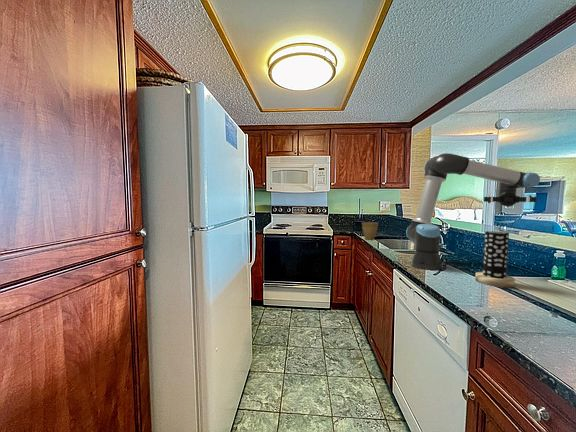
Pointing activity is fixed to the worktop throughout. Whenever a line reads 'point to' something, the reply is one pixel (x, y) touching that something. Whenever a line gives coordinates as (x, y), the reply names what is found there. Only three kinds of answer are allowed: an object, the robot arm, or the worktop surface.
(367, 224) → the plant pot
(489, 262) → the spotted tube
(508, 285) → the maple plinth
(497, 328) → the worktop surface
